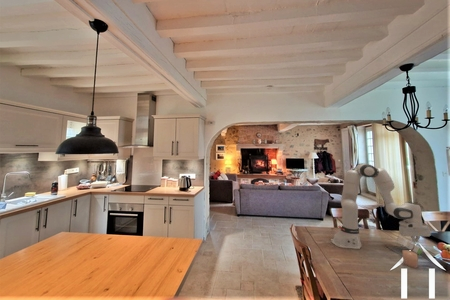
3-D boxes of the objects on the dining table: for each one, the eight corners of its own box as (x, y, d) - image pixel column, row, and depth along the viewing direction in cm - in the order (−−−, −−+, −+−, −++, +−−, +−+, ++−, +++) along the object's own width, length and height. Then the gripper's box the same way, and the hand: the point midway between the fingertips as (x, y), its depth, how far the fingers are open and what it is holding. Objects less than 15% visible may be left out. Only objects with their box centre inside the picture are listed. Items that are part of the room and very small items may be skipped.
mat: (405, 257, 128) (405, 257, 128) (386, 247, 144) (386, 246, 144) (424, 258, 127) (424, 257, 127) (403, 247, 143) (403, 246, 143)
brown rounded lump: (410, 267, 117) (409, 255, 118) (400, 261, 124) (399, 250, 125) (421, 267, 117) (420, 255, 117) (410, 261, 124) (409, 250, 124)
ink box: (423, 249, 131) (408, 240, 132) (419, 255, 131) (405, 246, 132) (411, 244, 140) (398, 236, 140) (408, 249, 140) (394, 241, 140)
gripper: (423, 222, 139) (425, 239, 139) (396, 222, 140) (398, 239, 140) (432, 225, 133) (434, 243, 132) (404, 225, 134) (405, 243, 133)
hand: (415, 241), depth 136 cm, fingers closed
